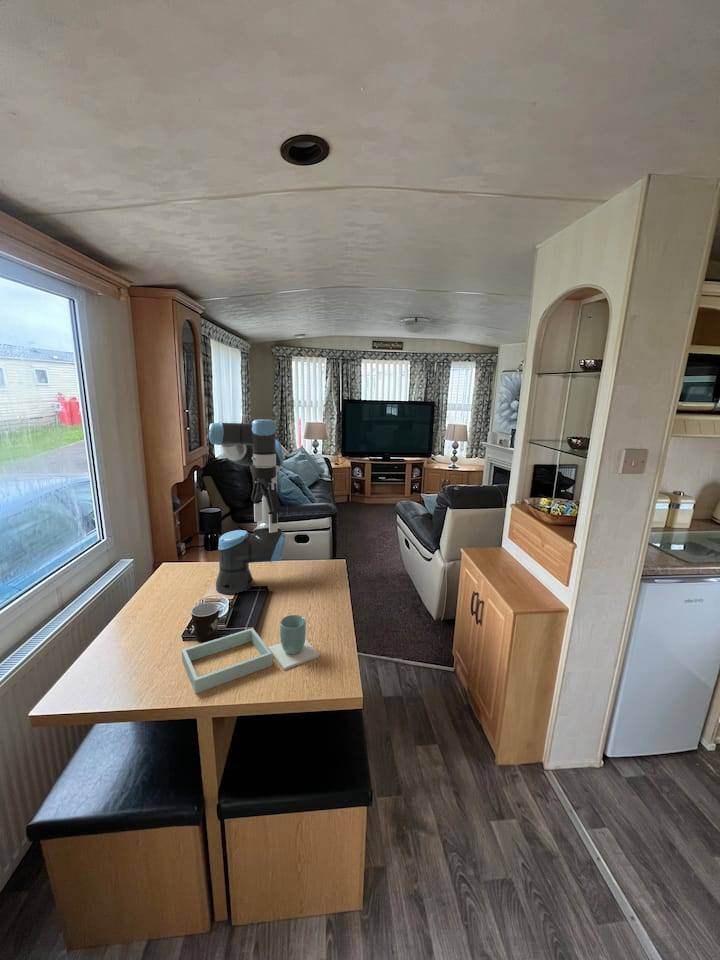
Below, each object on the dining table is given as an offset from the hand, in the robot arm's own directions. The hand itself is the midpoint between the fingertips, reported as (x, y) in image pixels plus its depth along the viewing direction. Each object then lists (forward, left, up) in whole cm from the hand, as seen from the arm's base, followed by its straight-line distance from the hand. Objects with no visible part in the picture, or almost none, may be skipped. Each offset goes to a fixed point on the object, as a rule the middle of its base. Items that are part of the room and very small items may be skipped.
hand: (265, 526), depth 141 cm
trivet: (+24, -1, -35) cm, 42 cm away
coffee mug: (+1, -23, -35) cm, 42 cm away
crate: (+18, -20, -35) cm, 44 cm away
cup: (+24, -1, -34) cm, 41 cm away
